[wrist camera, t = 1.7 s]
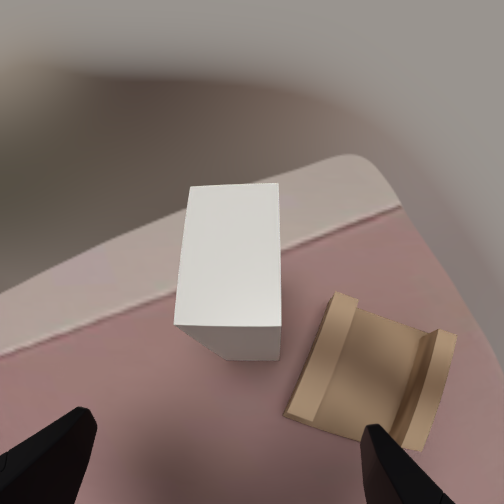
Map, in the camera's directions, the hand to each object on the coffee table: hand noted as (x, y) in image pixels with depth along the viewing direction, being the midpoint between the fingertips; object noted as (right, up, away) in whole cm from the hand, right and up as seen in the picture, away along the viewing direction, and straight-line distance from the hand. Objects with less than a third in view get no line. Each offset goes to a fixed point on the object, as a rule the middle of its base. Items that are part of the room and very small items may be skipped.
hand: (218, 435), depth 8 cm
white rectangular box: (+1, +1, +14) cm, 14 cm away
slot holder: (+9, -3, +12) cm, 15 cm away
